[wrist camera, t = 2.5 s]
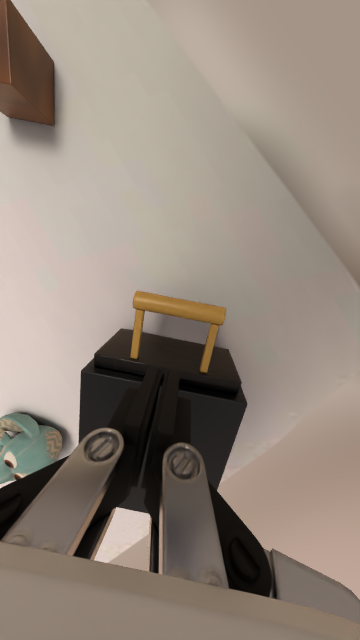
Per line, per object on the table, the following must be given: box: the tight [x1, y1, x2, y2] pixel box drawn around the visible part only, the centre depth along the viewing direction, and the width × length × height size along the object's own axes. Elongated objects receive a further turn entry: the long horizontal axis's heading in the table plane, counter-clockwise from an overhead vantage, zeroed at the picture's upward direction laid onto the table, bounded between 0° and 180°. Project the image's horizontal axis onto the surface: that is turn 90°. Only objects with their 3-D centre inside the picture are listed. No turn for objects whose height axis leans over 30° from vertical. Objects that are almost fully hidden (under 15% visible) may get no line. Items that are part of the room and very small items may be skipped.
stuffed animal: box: [0, 413, 62, 484], centre depth 26 cm, size 11×7×12 cm
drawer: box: [94, 291, 241, 394], centre depth 20 cm, size 20×12×6 cm, turn 170°
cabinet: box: [79, 358, 247, 513], centre depth 22 cm, size 16×14×8 cm
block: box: [0, 0, 54, 125], centre depth 15 cm, size 4×4×4 cm
